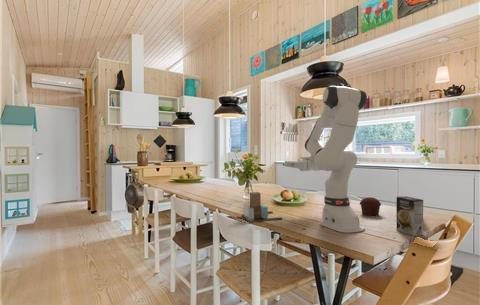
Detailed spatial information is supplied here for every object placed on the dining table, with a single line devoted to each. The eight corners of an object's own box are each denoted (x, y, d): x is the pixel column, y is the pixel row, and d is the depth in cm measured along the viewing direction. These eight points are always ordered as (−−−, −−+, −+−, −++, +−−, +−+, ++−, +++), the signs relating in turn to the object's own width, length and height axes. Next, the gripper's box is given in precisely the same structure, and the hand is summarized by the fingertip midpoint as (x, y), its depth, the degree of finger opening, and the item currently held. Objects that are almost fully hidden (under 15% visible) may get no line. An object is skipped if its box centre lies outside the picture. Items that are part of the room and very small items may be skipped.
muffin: (367, 217, 151) (367, 200, 151) (355, 213, 162) (355, 196, 162) (385, 216, 154) (385, 199, 154) (372, 211, 165) (372, 195, 165)
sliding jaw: (267, 218, 150) (267, 207, 150) (262, 218, 150) (262, 207, 149) (261, 213, 162) (260, 203, 162) (256, 213, 161) (256, 203, 161)
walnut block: (260, 217, 153) (260, 193, 153) (252, 218, 152) (252, 193, 152) (258, 215, 158) (257, 191, 158) (250, 216, 157) (249, 192, 156)
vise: (282, 219, 150) (282, 207, 150) (248, 222, 146) (248, 209, 146) (272, 212, 166) (272, 201, 166) (241, 215, 161) (241, 203, 161)
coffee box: (395, 230, 128) (395, 196, 128) (405, 228, 130) (405, 195, 130) (413, 236, 119) (413, 200, 119) (423, 234, 121) (423, 199, 121)
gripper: (296, 158, 178) (277, 159, 175) (311, 159, 158) (290, 160, 155) (296, 168, 178) (277, 168, 175) (311, 170, 159) (290, 171, 155)
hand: (283, 164), depth 165 cm, fingers closed
